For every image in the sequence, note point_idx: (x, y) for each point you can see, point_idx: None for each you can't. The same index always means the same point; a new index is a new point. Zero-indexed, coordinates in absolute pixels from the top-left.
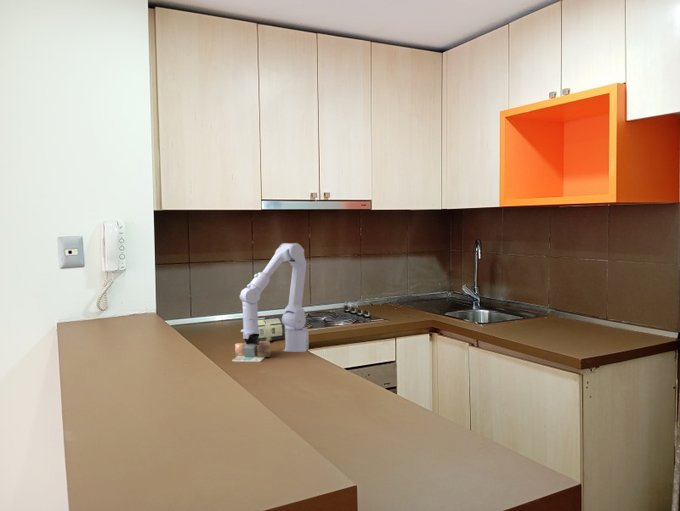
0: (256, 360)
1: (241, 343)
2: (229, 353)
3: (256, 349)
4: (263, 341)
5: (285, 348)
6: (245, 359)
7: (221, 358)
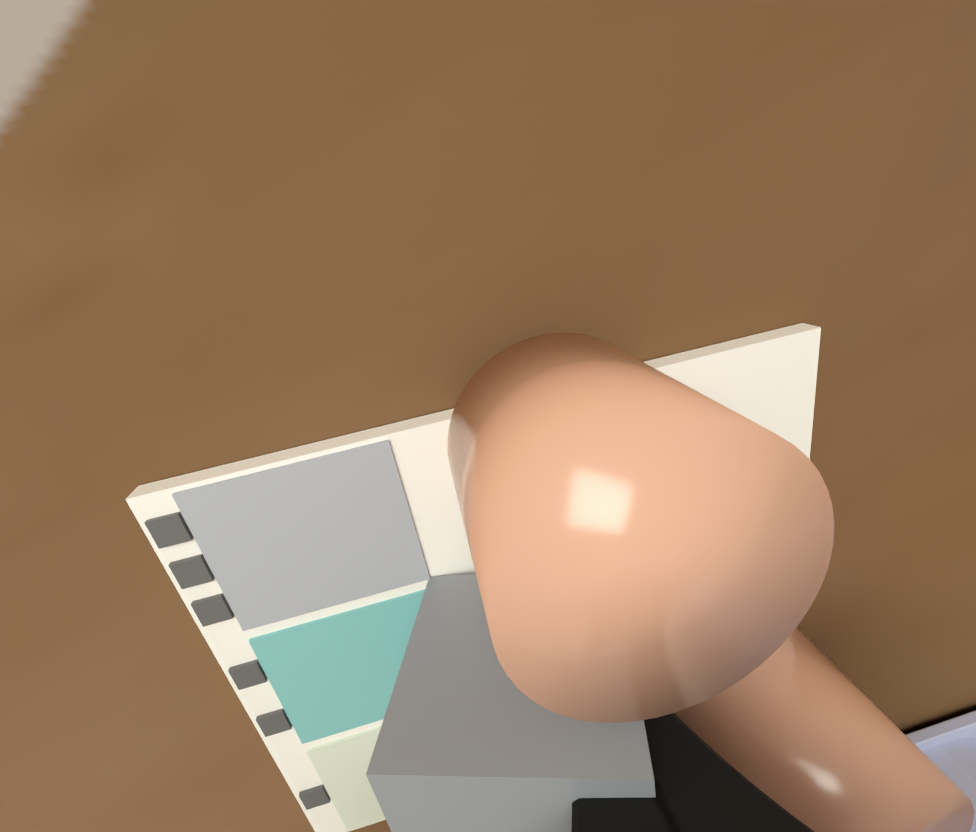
0: (302, 805)
1: (741, 571)
2: (777, 32)
3: None
4: (923, 829)
5: (940, 740)
6: (273, 677)
7: (279, 86)
